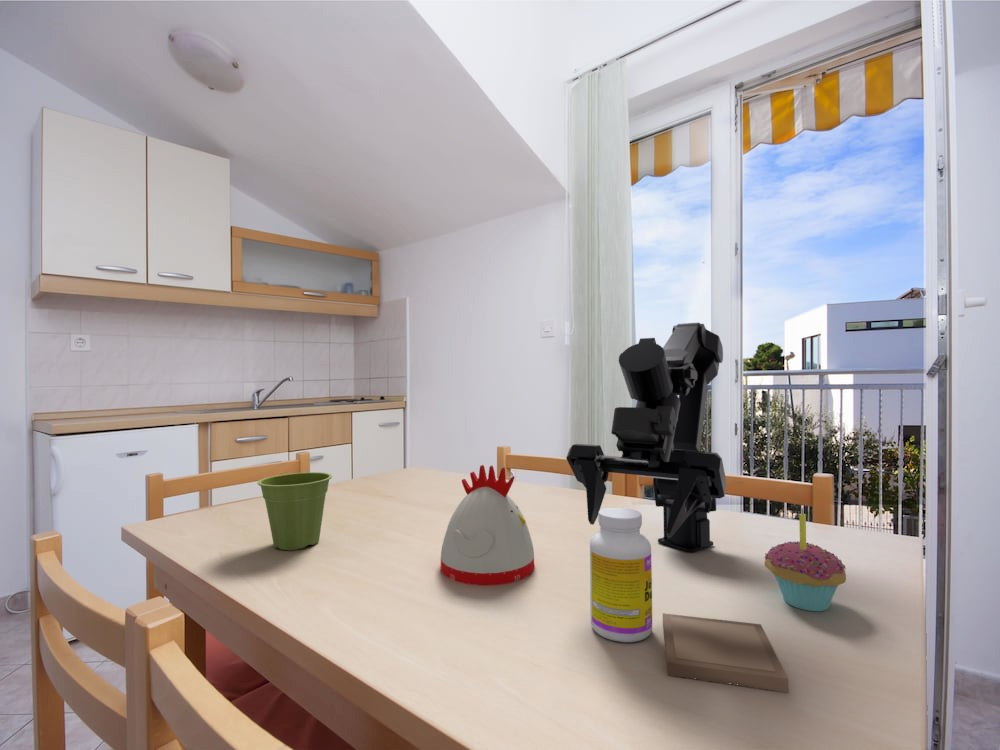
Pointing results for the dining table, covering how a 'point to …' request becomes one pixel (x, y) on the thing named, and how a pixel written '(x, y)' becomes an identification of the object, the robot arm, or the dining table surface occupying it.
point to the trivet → (721, 652)
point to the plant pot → (295, 507)
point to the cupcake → (805, 572)
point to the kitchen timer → (487, 535)
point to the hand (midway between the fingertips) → (628, 528)
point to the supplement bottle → (620, 577)
